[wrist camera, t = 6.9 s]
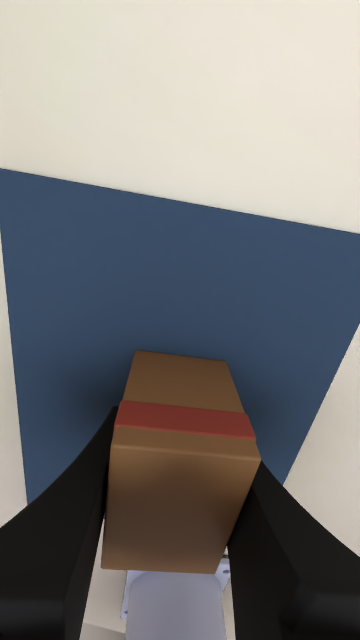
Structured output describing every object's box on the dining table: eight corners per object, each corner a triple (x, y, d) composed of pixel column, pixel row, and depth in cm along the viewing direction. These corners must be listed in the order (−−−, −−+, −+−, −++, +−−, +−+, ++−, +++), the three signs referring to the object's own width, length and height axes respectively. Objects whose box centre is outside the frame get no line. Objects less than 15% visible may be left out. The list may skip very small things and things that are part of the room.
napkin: (260, 524, 19) (262, 529, 18) (30, 509, 17) (28, 514, 17) (393, 240, 11) (399, 241, 11) (-2, 168, 10) (-7, 167, 9)
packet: (201, 454, 15) (216, 576, 10) (123, 447, 15) (98, 570, 10) (227, 359, 13) (265, 458, 8) (134, 347, 12) (108, 444, 7)
